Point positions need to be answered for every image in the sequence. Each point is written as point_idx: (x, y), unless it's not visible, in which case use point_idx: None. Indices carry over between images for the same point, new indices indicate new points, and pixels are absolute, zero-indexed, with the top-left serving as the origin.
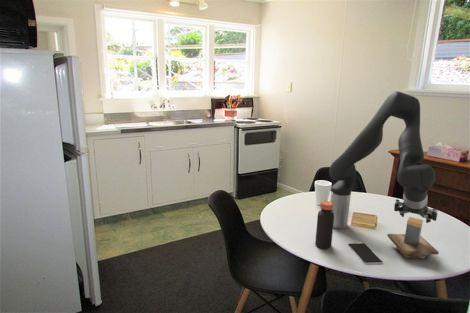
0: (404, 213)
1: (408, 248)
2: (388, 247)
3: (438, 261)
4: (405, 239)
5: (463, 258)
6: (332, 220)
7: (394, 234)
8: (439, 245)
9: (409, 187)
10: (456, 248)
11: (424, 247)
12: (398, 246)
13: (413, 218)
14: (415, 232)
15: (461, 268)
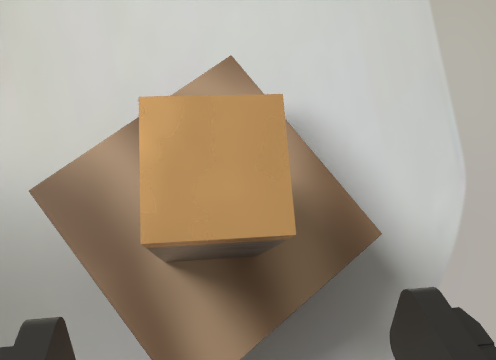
0: (61, 333)
1: (212, 337)
2: None
3: None
4: (170, 259)
5: (441, 94)
6: None
7: (77, 170)
8: (320, 24)
9: None
10: (392, 5)
11: (297, 233)
12: (143, 345)
13: (186, 117)
14: (239, 249)
15: (459, 213)
